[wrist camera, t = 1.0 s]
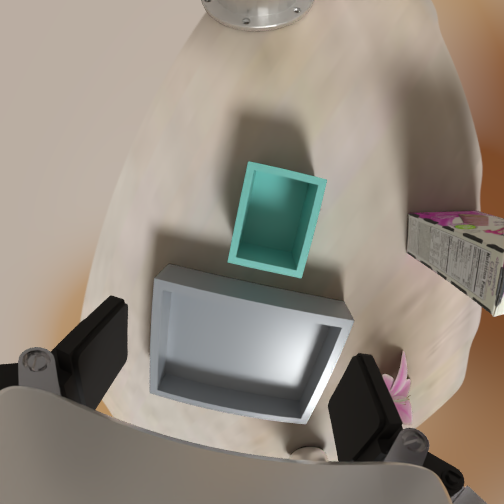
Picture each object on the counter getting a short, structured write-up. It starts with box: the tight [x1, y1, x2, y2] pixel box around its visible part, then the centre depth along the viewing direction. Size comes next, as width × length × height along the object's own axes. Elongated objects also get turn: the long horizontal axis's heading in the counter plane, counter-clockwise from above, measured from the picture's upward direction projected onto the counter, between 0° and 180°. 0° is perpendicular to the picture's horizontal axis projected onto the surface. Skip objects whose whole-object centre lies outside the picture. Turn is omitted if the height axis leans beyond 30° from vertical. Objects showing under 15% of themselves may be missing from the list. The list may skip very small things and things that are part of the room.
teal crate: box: [228, 161, 327, 278], centre depth 26 cm, size 8×6×6 cm
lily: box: [382, 350, 413, 425], centre depth 31 cm, size 12×12×10 cm
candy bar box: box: [407, 211, 504, 316], centre depth 20 cm, size 11×5×16 cm, turn 95°
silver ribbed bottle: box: [289, 447, 328, 461], centre depth 30 cm, size 6×7×20 cm
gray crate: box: [150, 264, 354, 424], centre depth 31 cm, size 16×20×4 cm
